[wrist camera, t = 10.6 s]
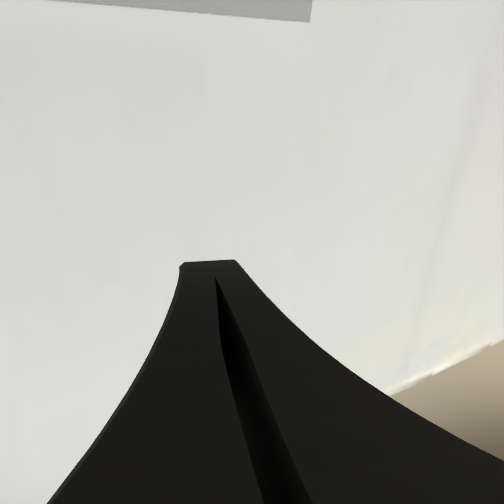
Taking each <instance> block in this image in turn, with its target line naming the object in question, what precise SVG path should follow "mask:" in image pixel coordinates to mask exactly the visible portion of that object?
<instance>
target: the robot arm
mask: <svg viewBox="0 0 504 504" xmlns="http://www.w3.org/2000/svg"><path fill="white" fill-rule="evenodd" d="M47 504H504V461H503V460H501V459H499V458H497V457H495V456H493V455H491V454H489V453H487V452H485V451H483V450H481V449H479V448H477V447H475V446H473V445H471V444H469V443H467V442H465V441H464V440H462V439H460V438H458V437H456V436H454V435H453V434H451V433H449V432H447V431H446V430H444V429H442V428H441V427H439V426H437V425H435V424H433V423H432V422H430V421H428V420H426V419H425V418H423V417H421V416H419V415H418V414H416V413H414V412H413V411H411V410H410V409H408V408H406V407H405V406H403V405H401V404H400V403H398V402H396V401H395V400H393V399H392V398H390V397H389V396H387V395H386V394H384V393H383V392H381V391H380V390H378V389H377V388H375V387H374V386H372V385H371V384H369V383H368V382H366V381H365V380H363V379H362V378H360V377H359V376H358V375H356V374H355V373H353V372H352V371H350V370H349V369H348V368H346V367H345V366H344V365H342V364H341V363H340V362H339V361H337V360H336V359H335V358H333V357H332V356H331V355H330V354H328V353H327V352H326V351H324V350H323V349H322V348H321V347H319V346H318V345H317V344H316V343H315V342H314V341H312V340H311V339H310V338H309V337H308V336H307V335H306V334H305V333H304V332H302V331H301V330H300V329H299V328H298V327H297V326H296V325H295V324H294V323H293V322H292V321H291V320H290V319H289V318H288V317H287V316H285V315H284V314H283V312H282V311H281V310H280V309H279V308H278V307H277V306H276V305H275V304H274V303H273V302H272V301H271V300H270V299H269V298H268V297H267V296H266V295H265V294H264V293H263V292H262V290H261V289H260V288H259V287H258V286H257V285H256V284H255V282H254V281H253V280H252V279H251V278H250V277H249V275H248V274H247V273H246V272H245V271H244V269H243V268H242V267H241V266H240V265H239V263H238V262H237V261H235V260H216V261H198V262H184V263H183V264H182V265H181V266H179V278H178V283H177V287H176V290H175V293H174V297H173V300H172V302H171V305H170V307H169V310H168V313H167V315H166V318H165V320H164V323H163V325H162V327H161V329H160V331H159V334H158V336H157V338H156V340H155V342H154V344H153V346H152V348H151V350H150V352H149V354H148V356H147V358H146V360H145V362H144V364H143V365H142V367H141V369H140V371H139V373H138V374H137V376H136V378H135V379H134V381H133V383H132V385H131V386H130V388H129V390H128V391H127V393H126V394H125V396H124V398H123V399H122V401H121V402H120V404H119V405H118V407H117V408H116V410H115V411H114V413H113V414H112V416H111V417H110V419H109V420H108V422H107V424H106V425H105V426H104V428H103V429H102V431H101V432H100V434H99V435H98V437H97V438H96V439H95V441H94V442H93V444H92V445H91V446H90V448H89V449H88V450H87V452H86V453H85V454H84V456H83V457H82V458H81V460H80V461H79V462H78V463H77V465H76V466H75V467H74V469H73V470H72V471H71V473H70V474H69V475H68V477H67V478H66V479H65V480H64V482H63V483H62V484H61V486H60V487H59V488H58V490H57V491H56V492H55V494H54V495H53V496H52V497H51V499H50V500H49V501H48V503H47Z"/></svg>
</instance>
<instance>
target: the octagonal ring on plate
mask: <svg viewBox="0 0 504 504" xmlns="http://www.w3.org/2000/svg"><path fill="white" fill-rule="evenodd" d="M53 1H65V2H76V3H88V4H99V5H111V6H123V7H134V8H146V9H157V10H169V11H181V12H192V13H204V14H215V15H227V16H239V17H250V18H262V19H273V20H285V21H297V22H310V16H311V8H312V0H53Z"/></svg>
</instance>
